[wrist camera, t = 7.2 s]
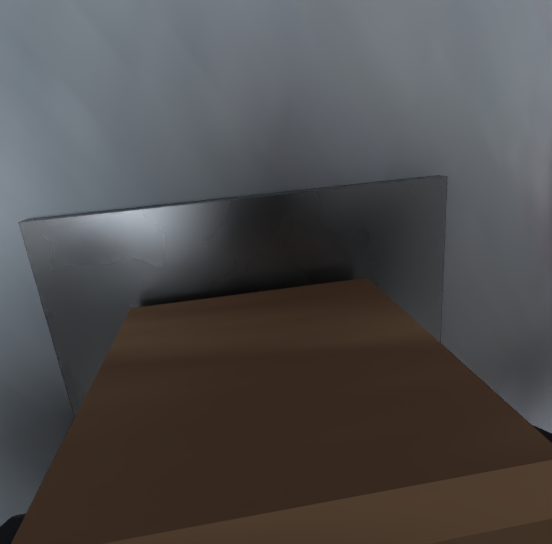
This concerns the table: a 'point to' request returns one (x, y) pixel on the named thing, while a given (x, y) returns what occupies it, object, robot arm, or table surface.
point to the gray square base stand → (232, 257)
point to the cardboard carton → (291, 433)
